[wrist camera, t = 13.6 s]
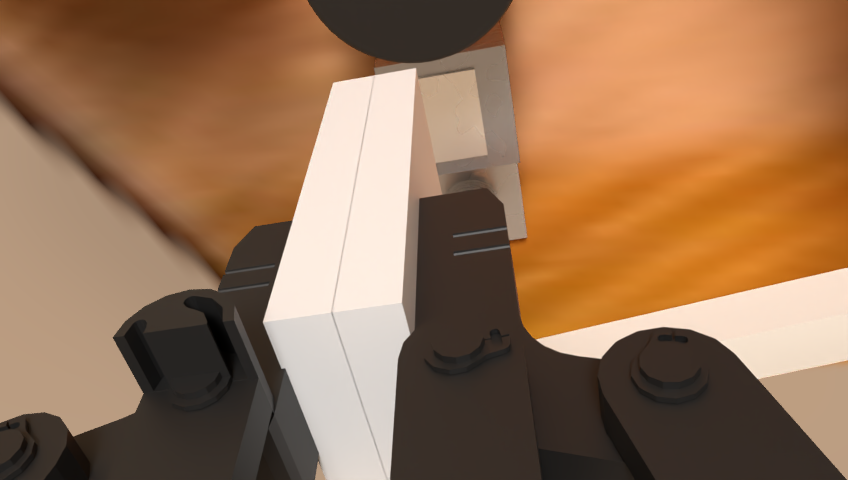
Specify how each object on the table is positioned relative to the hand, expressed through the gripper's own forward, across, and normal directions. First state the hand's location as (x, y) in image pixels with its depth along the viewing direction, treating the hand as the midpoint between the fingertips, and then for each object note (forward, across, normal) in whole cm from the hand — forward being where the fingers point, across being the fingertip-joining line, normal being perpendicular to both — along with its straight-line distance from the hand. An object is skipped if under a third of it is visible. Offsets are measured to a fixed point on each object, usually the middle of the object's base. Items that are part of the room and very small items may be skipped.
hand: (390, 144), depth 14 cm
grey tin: (+26, 0, -9) cm, 28 cm away
